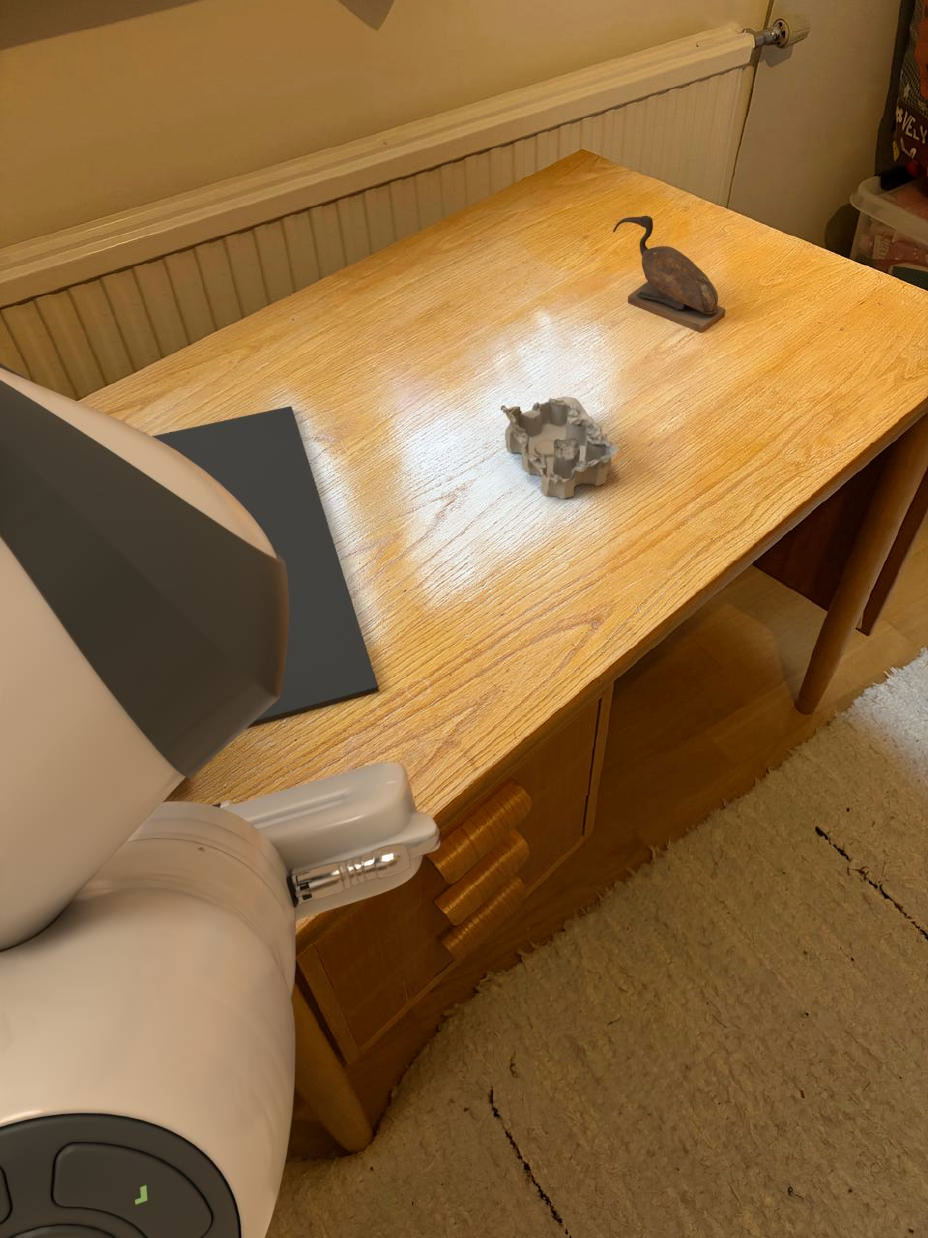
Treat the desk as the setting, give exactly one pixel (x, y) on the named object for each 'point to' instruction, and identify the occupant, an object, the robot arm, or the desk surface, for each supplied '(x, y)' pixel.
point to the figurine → (674, 285)
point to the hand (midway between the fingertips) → (208, 822)
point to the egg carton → (560, 445)
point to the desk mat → (289, 552)
